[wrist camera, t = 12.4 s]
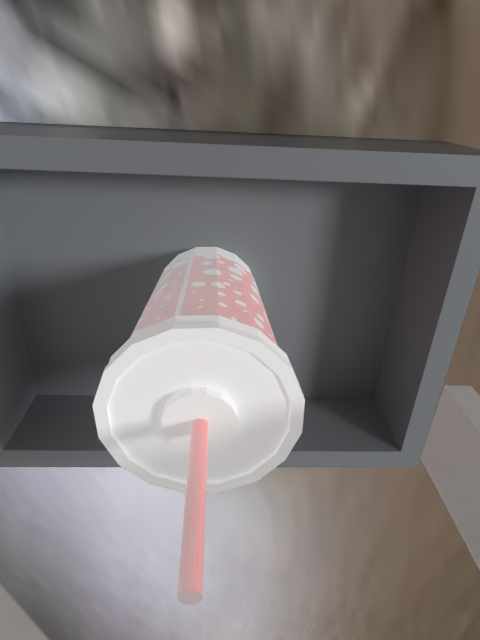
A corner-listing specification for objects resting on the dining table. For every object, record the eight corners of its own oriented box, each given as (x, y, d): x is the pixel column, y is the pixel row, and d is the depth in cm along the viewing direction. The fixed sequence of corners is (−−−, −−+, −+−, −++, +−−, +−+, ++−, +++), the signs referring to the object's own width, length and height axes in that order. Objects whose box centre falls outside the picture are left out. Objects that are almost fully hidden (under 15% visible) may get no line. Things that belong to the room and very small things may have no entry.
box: (-34, 120, 18) (-119, 130, 13) (445, 141, 19) (514, 157, 14) (27, 398, 24) (-16, 466, 20) (382, 401, 25) (417, 467, 21)
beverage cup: (162, 358, 22) (89, 697, 10) (124, 244, 19) (-45, 517, 7) (281, 336, 22) (362, 657, 9) (260, 216, 19) (337, 449, 7)
